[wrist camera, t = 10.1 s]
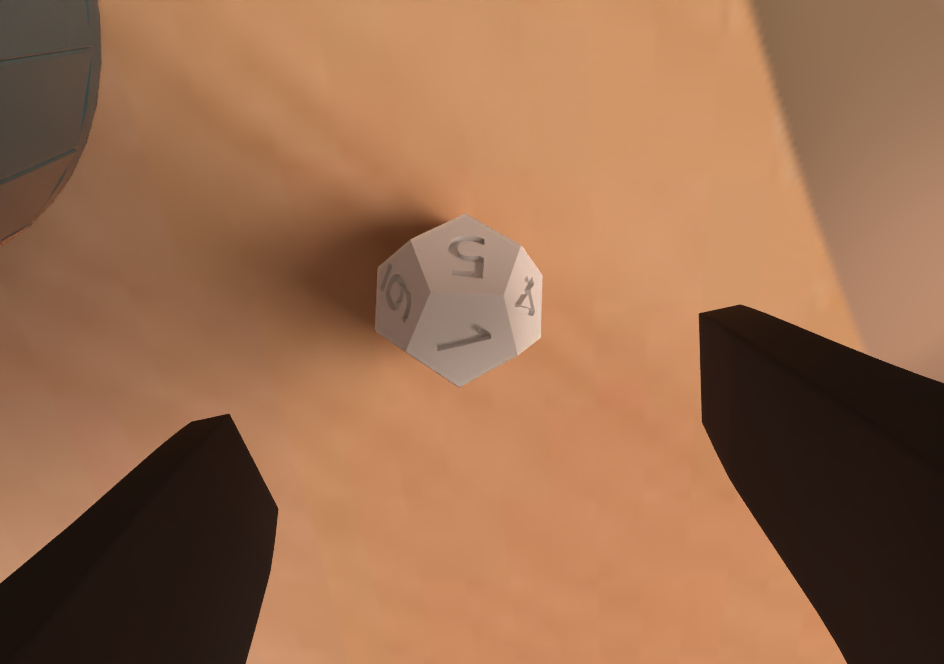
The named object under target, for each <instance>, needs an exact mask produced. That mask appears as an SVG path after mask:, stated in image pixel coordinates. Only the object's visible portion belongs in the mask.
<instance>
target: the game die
mask: <svg viewBox="0 0 944 664" xmlns="http://www.w3.org/2000/svg"><path fill="white" fill-rule="evenodd" d="M541 309H542V274H541V273H540V271H539V270H538V268H537V267H536V266H535V264H534V263H533V261H532V260H531V258H530V257H529V256H528V254H527V253H526V251H525V250H524V248H523V247H522V246H521V245H520V244H518V243H517V242H515V241H513V240H511V239H510V238H508V237H506V236H504V235H503V234H501V233H499V232H497V231H496V230H494V229H492V228H490V227H489V226H487V225H485V224H483V223H482V222H480V221H478V220H476V219H475V218H473V217H471V216H469V215H468V214H466V213H465V214H463V215H461V216H459V217H457V218H455V219H453V220H450V221H448V222H446V223H444V224H442V225H440V226H438V227H435V228H433V229H431V230H429V231H427V232H425V233H423V234H420V235H418V236H416V237H414V238H412V239H410V240H409V241H408V242H407V243H405V244H404V245H403V246H402V247H401V248H400V249H398V250H397V251H396V252H395V253H394V254H393V255H391V256H390V257H389V258H388V259H387V260H386V261H385V262H383V263H382V264H381V265H380V266H379V267H378V271H377V294H376V317H375V332H377V333H378V334H380V335H381V336H383V337H384V338H386V339H387V340H388V341H390V342H391V343H393V344H394V345H396V346H397V347H399V348H400V349H402V350H403V351H405V352H406V353H408V354H409V355H411V356H412V357H414V358H415V359H417V360H418V361H420V362H421V363H423V364H424V365H426V366H427V367H429V368H430V369H432V370H433V371H435V372H436V373H438V374H439V375H441V376H442V377H444V378H445V379H447V380H448V381H450V382H451V383H453V384H454V385H456V386H458V387H461V386H463V385H465V384H467V383H468V382H470V381H472V380H474V379H476V378H478V377H479V376H481V375H483V374H485V373H487V372H489V371H490V370H492V369H494V368H496V367H498V366H499V365H501V364H503V363H505V362H507V361H509V360H510V359H512V358H514V357H516V356H518V355H519V354H520V353H522V352H523V351H524V350H526V349H527V348H528V347H529V346H531V345H532V344H533V343H535V342H536V341H537V340H538V339H540V338H541Z"/></svg>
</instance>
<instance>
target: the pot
mask: <svg viewBox="0 0 944 664" xmlns="http://www.w3.org/2000/svg"><path fill="white" fill-rule="evenodd" d="M100 68H101V41H100V14H99V8H98V1H97V0H0V247H1V246H3V245H4V244H6V243H7V242H8V241H10V240H11V239H13V238H14V237H15V236H17V235H18V234H20V233H21V232H22V231H24V230H25V229H27V228H28V227H29V226H31V225H32V224H33V223H34V222H35V221H36V220H37V218H38V217H39V216H40V215H41V214H42V213H43V212H44V211H45V210H46V209H47V208H48V207H49V206H50V205H51V204H52V203H53V202H54V201H55V199H56V198H57V196H58V195H59V193H60V192H61V190H62V189H63V187H64V186H65V184H66V183H67V181H68V180H69V178H70V177H71V175H72V174H73V172H74V169H75V167H76V165H77V163H78V160H79V158H80V156H81V154H82V151H83V149H84V147H85V145H86V143H87V139H88V135H89V132H90V128H91V124H92V120H93V116H94V113H95V109H96V105H97V96H98V87H99V78H100Z"/></svg>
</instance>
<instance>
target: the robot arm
mask: <svg viewBox="0 0 944 664" xmlns="http://www.w3.org/2000/svg"><path fill="white" fill-rule="evenodd" d="M699 335H700V369H701V404H702V423H703V425H704V427H705V430H706V432H707V434H708V436H709V438H710V440H711V442H712V445H713V447H714V449H715V451H716V453H717V455H718V457H719V459H720V461H721V463H722V465H723V467H724V469H725V471H726V473H727V475H728V477H729V479H730V481H731V482H732V484H733V485H734V487H735V488H736V490H737V491H738V493H739V495H740V496H741V498H742V499H743V501H744V502H745V504H746V505H747V507H748V508H749V510H750V511H751V513H752V515H753V516H754V518H755V519H756V521H757V522H758V524H759V525H760V527H761V528H762V530H763V531H764V533H765V534H766V536H767V537H768V539H769V540H770V542H771V543H772V545H773V546H774V548H775V549H776V551H777V552H778V554H779V555H780V557H781V558H782V560H783V561H784V563H785V564H786V566H787V567H788V569H789V570H790V572H791V573H792V575H793V576H794V578H795V579H796V581H797V582H798V584H799V585H800V587H801V588H802V590H803V591H804V593H805V595H806V596H807V598H808V599H809V601H810V602H811V604H812V605H813V607H814V608H815V610H816V611H817V613H818V614H819V616H820V618H821V619H822V621H823V622H824V624H825V626H826V627H827V629H828V631H829V632H830V634H831V636H832V637H833V639H834V641H835V642H836V644H837V645H838V647H839V649H840V651H841V653H842V655H843V656H844V658H845V660H846V662H847V664H944V383H941V382H939V381H936V380H932V379H930V378H927V377H924V376H921V375H918V374H916V373H913V372H911V371H908V370H905V369H903V368H900V367H897V366H894V365H892V364H889V363H887V362H884V361H882V360H879V359H876V358H874V357H871V356H869V355H866V354H864V353H861V352H859V351H856V350H854V349H851V348H849V347H846V346H844V345H841V344H839V343H837V342H834V341H832V340H829V339H827V338H824V337H822V336H820V335H817V334H815V333H812V332H810V331H808V330H805V329H803V328H800V327H798V326H796V325H793V324H791V323H788V322H786V321H783V320H781V319H778V318H776V317H774V316H771V315H769V314H766V313H763V312H761V311H758V310H755V309H753V308H750V307H747V306H744V305H736V306H731V307H727V308H722V309H717V310H713V311H708V312H703V313H699ZM277 517H278V507H277V505H276V503H275V501H274V499H273V497H272V496H271V494H270V492H269V490H268V488H267V486H266V484H265V482H264V480H263V478H262V476H261V474H260V472H259V470H258V468H257V466H256V464H255V462H254V461H253V459H252V457H251V455H250V453H249V451H248V449H247V447H246V445H245V443H244V441H243V439H242V437H241V435H240V433H239V431H238V429H237V427H236V425H235V424H234V422H233V420H232V418H231V416H230V414H226V415H221V416H216V417H212V418H207V419H202V420H197V421H193V422H191V423H189V424H188V425H186V426H185V427H184V428H182V429H181V430H179V431H178V432H177V433H176V434H174V435H173V436H172V437H171V438H169V439H168V440H167V441H166V442H164V443H163V444H162V445H161V446H160V447H158V448H157V449H156V450H155V451H154V452H153V453H151V454H150V455H149V456H148V457H147V458H146V459H145V460H143V461H142V462H141V463H140V464H139V465H138V466H137V467H135V468H134V469H133V470H132V471H131V472H130V473H129V474H128V475H126V476H125V477H124V478H123V479H122V480H121V481H120V482H119V483H117V484H116V485H115V486H114V487H113V488H112V489H111V490H109V491H108V492H107V493H106V494H105V495H104V496H103V497H102V498H100V499H99V500H98V501H97V502H96V503H95V504H94V505H92V506H91V507H90V508H89V509H88V510H87V511H86V512H85V513H83V514H82V515H81V516H80V517H79V518H78V519H77V520H75V521H74V522H73V523H72V524H71V525H70V526H69V527H67V528H66V529H65V530H64V531H63V532H61V533H60V534H59V535H58V536H57V537H55V538H54V539H53V540H52V541H51V542H49V543H48V544H47V545H46V546H45V547H43V548H42V549H41V550H40V551H39V552H37V553H36V554H35V555H34V556H33V557H31V558H30V559H29V560H28V561H27V562H26V563H24V564H23V565H22V566H21V567H20V568H18V569H17V570H16V571H15V572H14V573H12V574H11V575H10V576H9V577H8V578H6V579H5V580H4V581H3V582H2V583H0V664H246V660H247V657H248V653H249V649H250V646H251V642H252V639H253V635H254V631H255V628H256V624H257V620H258V617H259V613H260V609H261V605H262V602H263V598H264V594H265V590H266V587H267V583H268V579H269V575H270V571H271V564H272V557H273V550H274V544H275V535H276V526H277Z"/></svg>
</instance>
